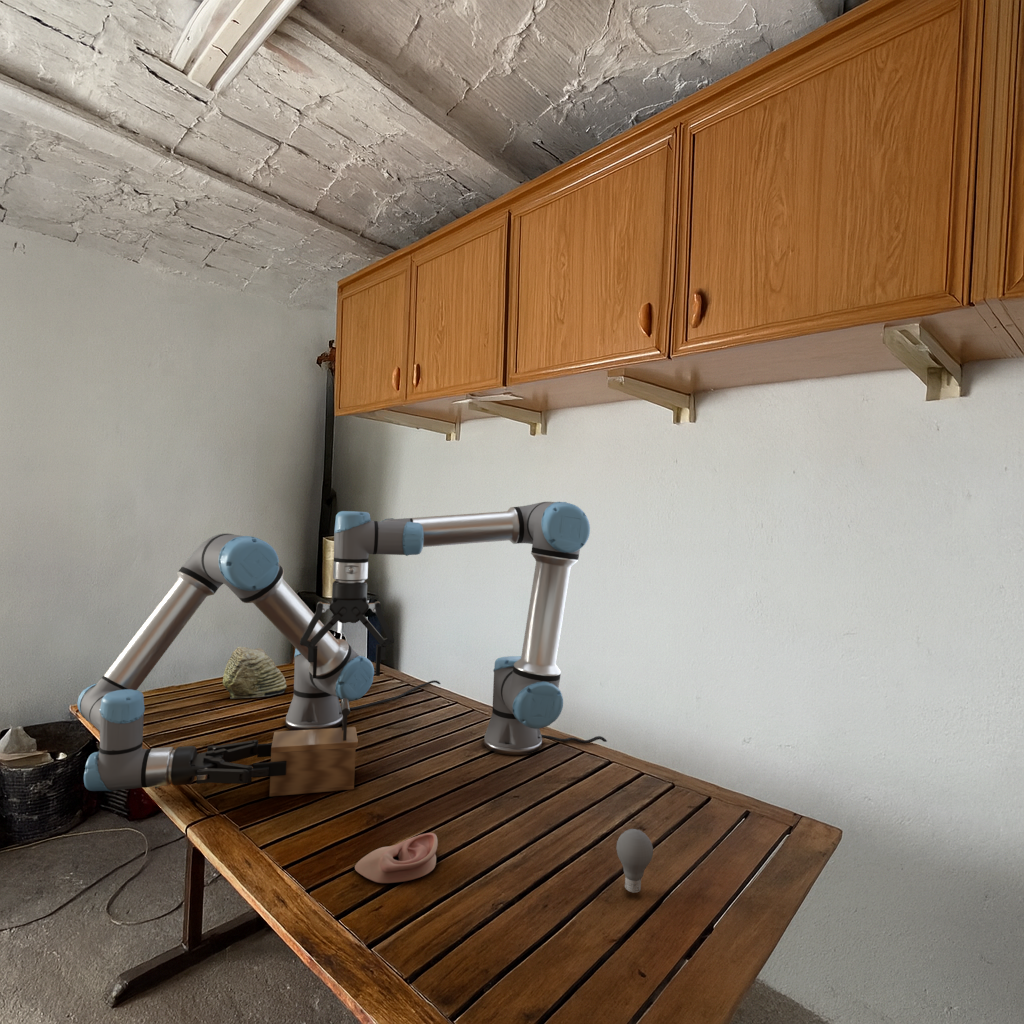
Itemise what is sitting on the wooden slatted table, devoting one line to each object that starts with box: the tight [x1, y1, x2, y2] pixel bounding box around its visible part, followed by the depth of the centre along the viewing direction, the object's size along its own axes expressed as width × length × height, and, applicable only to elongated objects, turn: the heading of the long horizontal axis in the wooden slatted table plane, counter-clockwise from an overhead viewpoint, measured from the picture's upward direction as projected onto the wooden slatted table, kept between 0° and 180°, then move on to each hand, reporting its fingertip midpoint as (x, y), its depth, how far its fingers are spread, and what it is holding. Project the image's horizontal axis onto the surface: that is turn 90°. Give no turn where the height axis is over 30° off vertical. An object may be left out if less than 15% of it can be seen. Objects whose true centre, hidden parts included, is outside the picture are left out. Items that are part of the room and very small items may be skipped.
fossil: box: [222, 646, 288, 699], centre depth 198 cm, size 9×18×15 cm, turn 132°
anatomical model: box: [354, 832, 439, 884], centre depth 110 cm, size 13×4×12 cm
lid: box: [271, 698, 359, 753], centre depth 140 cm, size 18×9×8 cm, turn 107°
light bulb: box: [615, 828, 654, 894], centre depth 106 cm, size 6×6×10 cm
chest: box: [269, 747, 357, 797], centre depth 140 cm, size 17×9×9 cm, turn 107°
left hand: (287, 758), depth 138 cm, fingers open, 10 cm apart
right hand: (346, 675), depth 141 cm, fingers open, 13 cm apart
